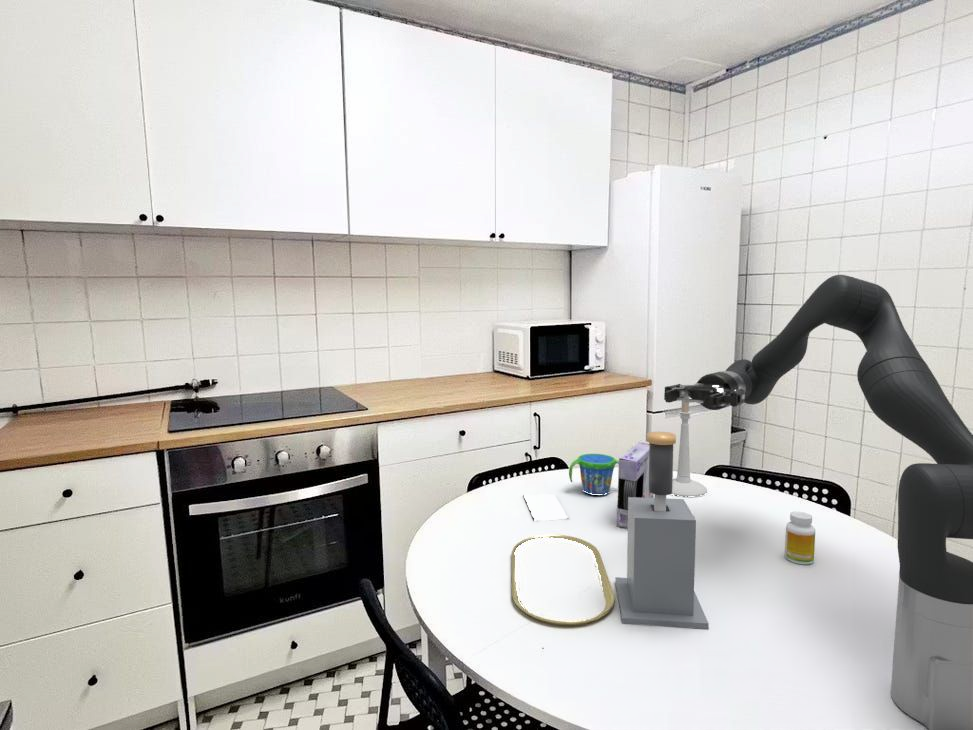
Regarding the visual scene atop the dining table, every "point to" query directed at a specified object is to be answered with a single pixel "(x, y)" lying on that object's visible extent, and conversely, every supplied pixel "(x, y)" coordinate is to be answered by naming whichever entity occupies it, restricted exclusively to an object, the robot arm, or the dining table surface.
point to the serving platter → (604, 578)
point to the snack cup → (595, 472)
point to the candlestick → (685, 462)
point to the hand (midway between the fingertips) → (688, 399)
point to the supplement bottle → (800, 539)
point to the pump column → (660, 567)
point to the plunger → (660, 466)
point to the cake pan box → (632, 479)
